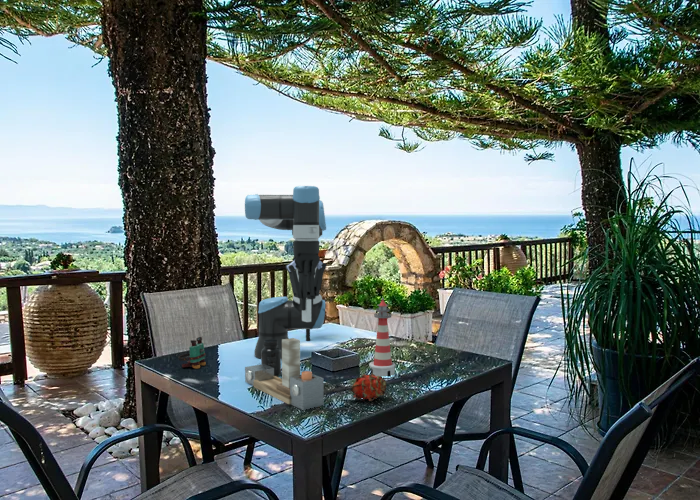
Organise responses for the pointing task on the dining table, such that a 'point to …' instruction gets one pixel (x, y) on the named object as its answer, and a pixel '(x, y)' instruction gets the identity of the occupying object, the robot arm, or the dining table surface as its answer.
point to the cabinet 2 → (306, 392)
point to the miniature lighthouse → (382, 344)
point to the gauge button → (306, 375)
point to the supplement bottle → (271, 356)
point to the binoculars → (194, 354)
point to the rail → (272, 388)
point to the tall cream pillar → (289, 363)
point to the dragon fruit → (369, 387)
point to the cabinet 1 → (258, 373)
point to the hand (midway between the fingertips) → (306, 321)
